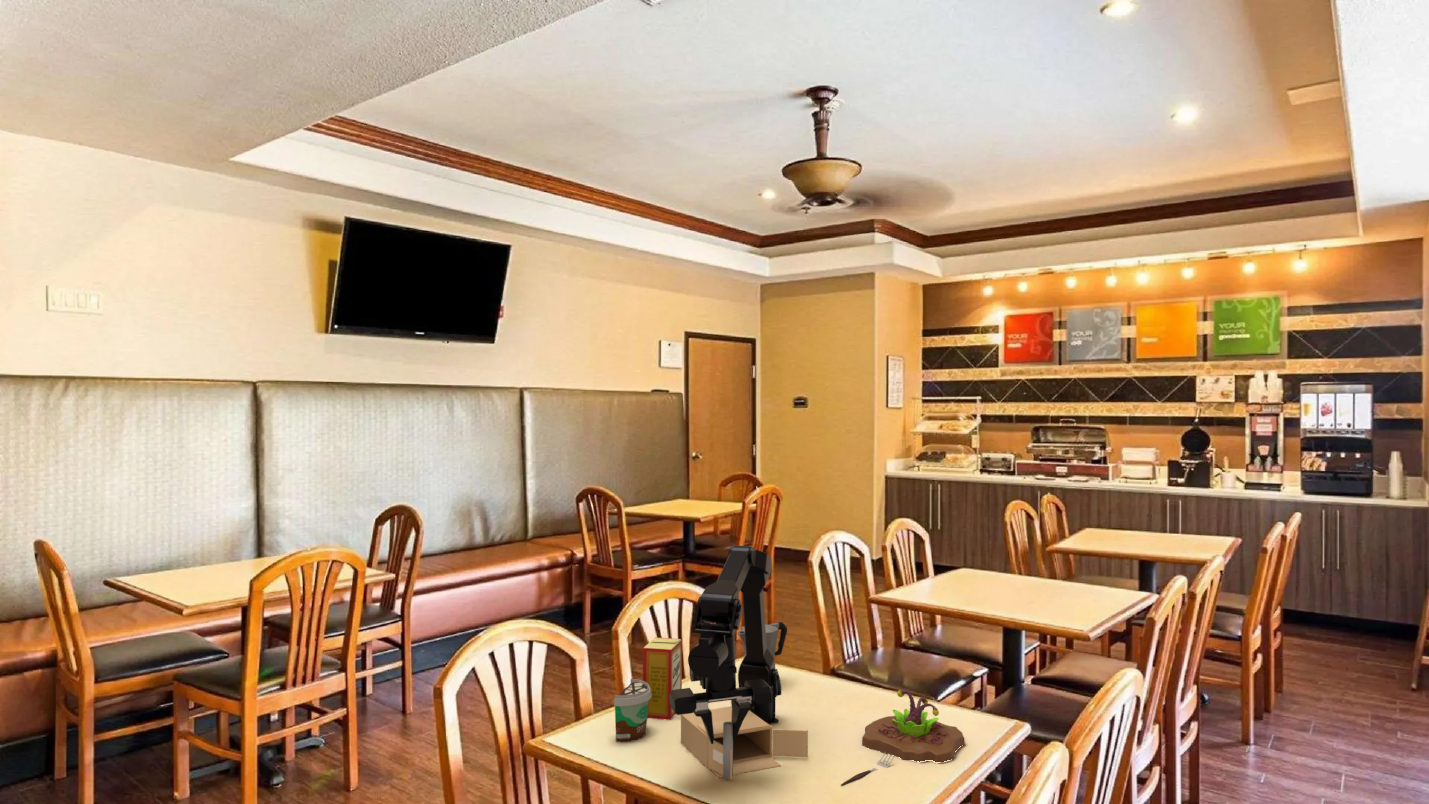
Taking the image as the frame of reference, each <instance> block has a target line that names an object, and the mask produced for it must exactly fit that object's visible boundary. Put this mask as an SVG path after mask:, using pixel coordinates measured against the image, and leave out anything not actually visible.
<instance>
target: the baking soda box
mask: <svg viewBox="0 0 1429 804" xmlns="http://www.w3.org/2000/svg"><path fill="white" fill-rule="evenodd" d="M682 662H683V639H682V638H673V637H671V638H670V637H657V636H656V637H654V638H652V639H651V641H650V642H648V643H647V644H646V645H645V646H644V647H643V648H642V681H644V682H646V683H648V684H649V687H650V689H651V694H652V697H651V698H650V699H649V700H648V712H647V719H652V720H653V719H655V720H664V719H666V720H665V721H671V720H672V719H673V718H674V716H675V715H676V714H675V713H674V711H673V709H672V707H671V706H670V700H669V695H670V693H671V691H672V690H676V689H683V684H682V683H683V681H682V680H683V677H682V676H683V673H682V672H683V665H682V664H683V663H682Z"/></svg>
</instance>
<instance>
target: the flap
mask: <svg viewBox="0 0 1429 804" xmlns="http://www.w3.org/2000/svg"><path fill="white" fill-rule="evenodd" d="M708 767H709V768H708V769H710V768H711V769H713V770H715V771H716V772H718V773H720V774H722V775H723V777H722V778H723V779H724V780H732V779H733V777H734V775H733V723H732V722H724V723H723V745H722V744H720V743H718V742H716V741H714V743H713V744H711V743H710V740H709V739H708ZM711 769H710V770H711Z"/></svg>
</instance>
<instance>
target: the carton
mask: <svg viewBox="0 0 1429 804" xmlns="http://www.w3.org/2000/svg"><path fill="white" fill-rule="evenodd" d="M709 709H710V708H709ZM710 711H711V712H712V722H713V733H714V741H716V742H718V743H720V744H722V745H723V723H724V722H731V720H732V705H730V706H725V707H718V708H711V709H710ZM708 739H709V737H708V735H707V732H706V729H705V726H704V723H703V721H702V719H701V717H697V716H695V714H694V712H693V713H690V714H682V715H680V744H681V745H682V746H683V747H685V749H687V750H688V751H689V752H690V753H691V754H692V755H693V756H694V757H695V758H696V759H697V760H698V761H699V762H700V763H701V764H702V765H703V766H704V767H705V768H706V769H709V770H711V771H712V773H713V774H715V775H716V776H717V777H718V778H723V775H722V774H720V773H718V772H716V771H715V770H713V769H711V768H709V767H708ZM773 757H786V758H788V757H789V758H807V759H808V758H809V731H808V730H805V729H804V730H803V729H785V728H783V729H782V728H781V729H780V728H773V726H772V725H771V724H767V723H766V722H765V721H763V720H762V719H761V718H759V717H758V716H756V715H755V714H754V713H752V712H751V711H748V713H747V715H746V717H745V718H744V720H743V722H742V725H741V727H740V729H739V732H738V734H737V737H736V740H735V741H733V776H735V775H736V776H737V775H741V774H746V773H745V772H747V773H750V772H751V773H752V772H758V771H761V770H767V769H772V768H778V767H781V766H782V764H781V763H779V762H778V761H777V760H775V759H774V758H773Z"/></svg>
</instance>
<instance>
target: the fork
mask: <svg viewBox="0 0 1429 804" xmlns="http://www.w3.org/2000/svg"><path fill="white" fill-rule="evenodd" d="M885 753H886V752H885ZM885 753H883V755H881V757H880V759H879V760H878V761H877V762H876V763H875V764H876V765H877V766H879V767H882V768H885V769H888V768H889V766H890V765H891V764H892V761H893V760H894V758H895V755H894V756H893V757H892V754H891V755H888V754H889V753H888V754H885ZM888 756H889V757H888ZM887 757H888V758H887ZM891 757H892V758H891ZM883 758H884V759H883ZM889 760H890V761H889ZM874 771H879V770H878V768H876V767H873V768H871V769H867V770H865V771H863V772H859V773H857V774H855V775H853V776H852V777H850V778H849V779H847V780H846V781H844V782H843V783H841V784H840V786H841V787H842V786H846V785H848V784H851V783H854V782H856V781H859V780H860V779H862V778H864V777H866V776H867V775H869V774H870V773H872V772H874Z"/></svg>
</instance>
